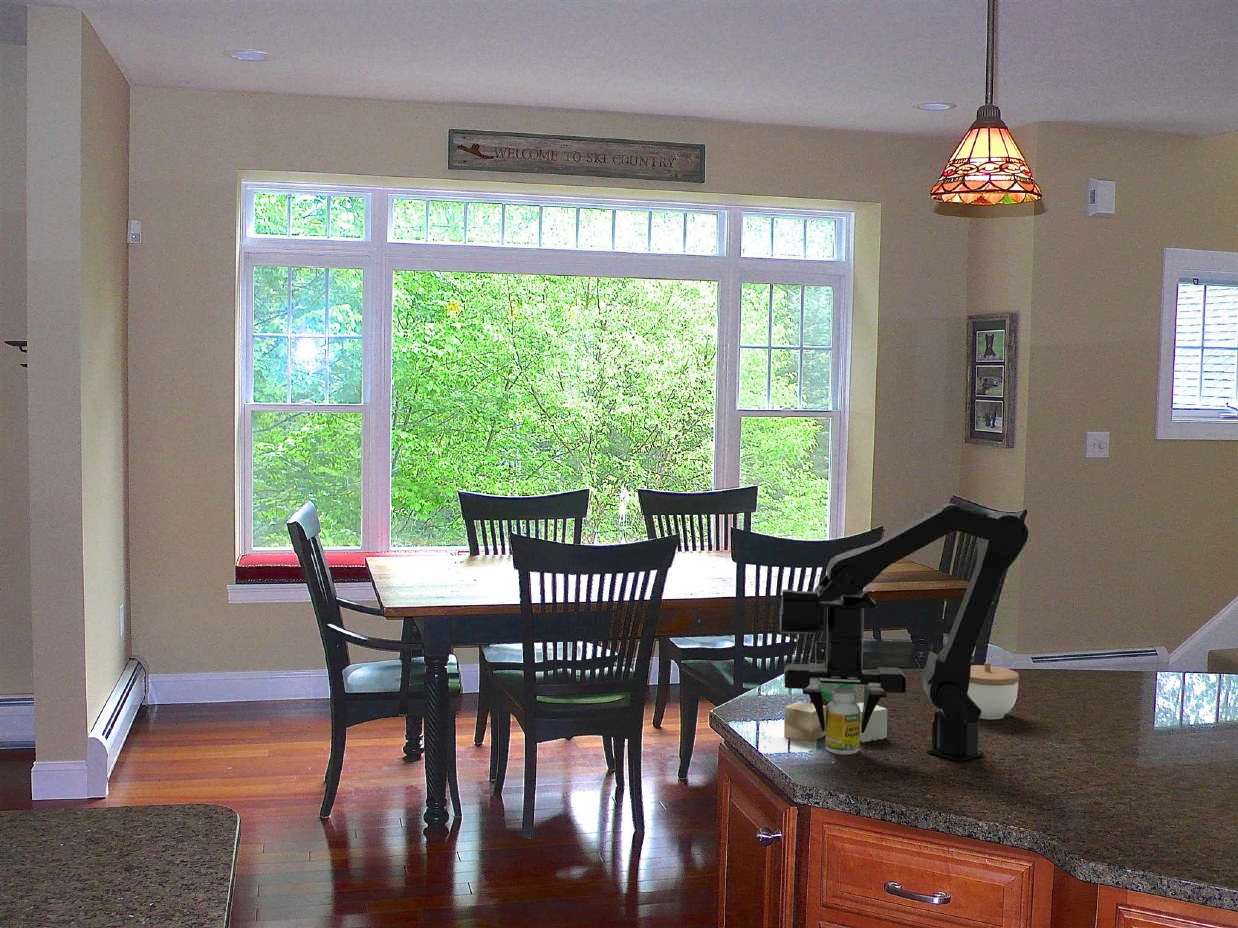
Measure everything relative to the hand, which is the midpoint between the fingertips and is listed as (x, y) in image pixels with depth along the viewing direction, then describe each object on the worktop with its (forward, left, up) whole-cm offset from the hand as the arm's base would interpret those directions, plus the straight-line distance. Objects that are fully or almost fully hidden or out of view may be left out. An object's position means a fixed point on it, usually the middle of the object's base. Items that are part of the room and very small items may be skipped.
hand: (842, 731), depth 186 cm
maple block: (+9, -1, -3) cm, 10 cm away
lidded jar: (-1, -37, -3) cm, 37 cm away
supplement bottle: (0, 0, -3) cm, 3 cm away
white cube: (+3, -9, -3) cm, 10 cm away
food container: (+14, -15, -3) cm, 21 cm away
